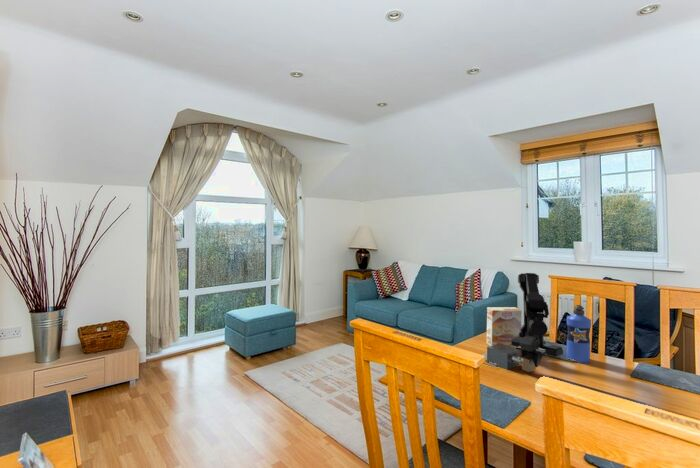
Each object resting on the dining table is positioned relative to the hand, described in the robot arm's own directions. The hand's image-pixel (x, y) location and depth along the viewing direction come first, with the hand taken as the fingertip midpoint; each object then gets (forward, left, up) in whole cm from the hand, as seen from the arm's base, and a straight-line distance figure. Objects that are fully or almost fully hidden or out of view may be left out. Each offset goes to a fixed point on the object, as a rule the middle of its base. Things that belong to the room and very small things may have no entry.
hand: (536, 367), depth 143 cm
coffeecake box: (-20, -28, -4) cm, 35 cm away
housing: (0, -15, -4) cm, 15 cm away
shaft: (0, -11, -2) cm, 11 cm away
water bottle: (-33, +1, -4) cm, 33 cm away
